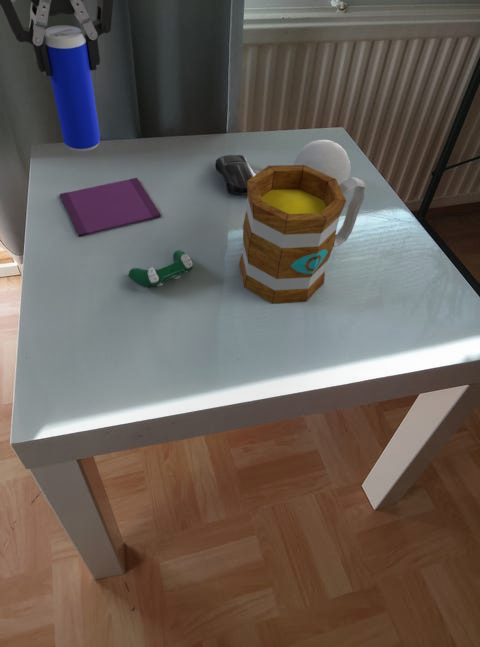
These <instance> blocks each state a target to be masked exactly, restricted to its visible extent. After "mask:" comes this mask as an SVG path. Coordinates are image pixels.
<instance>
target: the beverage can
mask: <svg viewBox="0 0 480 647" xmlns="http://www.w3.org/2000/svg"><path fill="white" fill-rule="evenodd" d="M84 35H85V34H84V31H83V30H82V29H81V28H79V27H77V26H72V25H66V24H65V25H59V24H58V25H54V26H50V27H48V28H47V27H46V28H45V33H44V39H43V42H44V44H45V45H46V49H47V53H48V58H49V63H50V68H51V73H52V76H50V82H51V86H52V92H53V96H54V100H55V106H56V110H57V115H58V120H59V125H60V129H61V134H62V135H61V136H62V138H63V143H64V144H65V146H66V147H68V148H69V149H70V150H71V151H75V152H80V153H81V152H82V153H83V152H90V151H92V150H94V149H96V148H97V147H98V146H99V144H100V142H101V134H100V126H99V120H98V113H97V106H96V98H95V93H94V86H93V79H92V73H91V71H92V70H90V65H89V58H88V51H87V44H86V39H85V37H84Z"/></svg>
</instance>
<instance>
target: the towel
mask: <svg viewBox="0 0 480 647" xmlns="http://www.w3.org/2000/svg"><path fill="white" fill-rule="evenodd" d="M59 197H60V199H61V201H62V204H63V205H64V208H65V210H66V213H67V214H68V216H69V219H70V221H71V223H72V225H73V228H74V230H75V232H76V235H77V236H78V237H84V236H89V235H92V234H96V233H101V232H106V231H108V230H113V229H117V228H121V227H126V226H130V225H133V224H138V223H142V222H146V221H150V220H154V219H158V218H161V217H162V214H161V213H160V211H159V210H158V208H157V207H156V205H155V203H154V202H153V200H152V199H151V197H150V196H149V193H147V191H146V189H145V188H144V186H143V185H142V183H141V182H140V180H139V178H138V177H134V178H133V177H132V178H130V179H124V180H120V181H114V182H111V183H106V184H105V183H104V184H100V185H96V186H91V187H87V188H81V189H78V190H72V191H66V192H61V193H59Z"/></svg>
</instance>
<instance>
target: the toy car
mask: <svg viewBox="0 0 480 647" xmlns="http://www.w3.org/2000/svg"><path fill="white" fill-rule="evenodd" d="M214 166H215V171H216V172H219V173H220V175H222V178H223V180H224V182H225V183H226V191H227V192H228V193H229V194H230V193H232V194H236V195H248V193H247V181H248V180H249V179H250V178H252V177H253V176H255V175H256V174H257V173H255V172H254V170H253V169H252V167H251V165H250V164H249V162H248V160H247V157H246V156H245V155H242V154H228V155H227V154H226V155H222V156H220V157H219V156H218V158H217V159H216V160H215V165H214Z"/></svg>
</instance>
